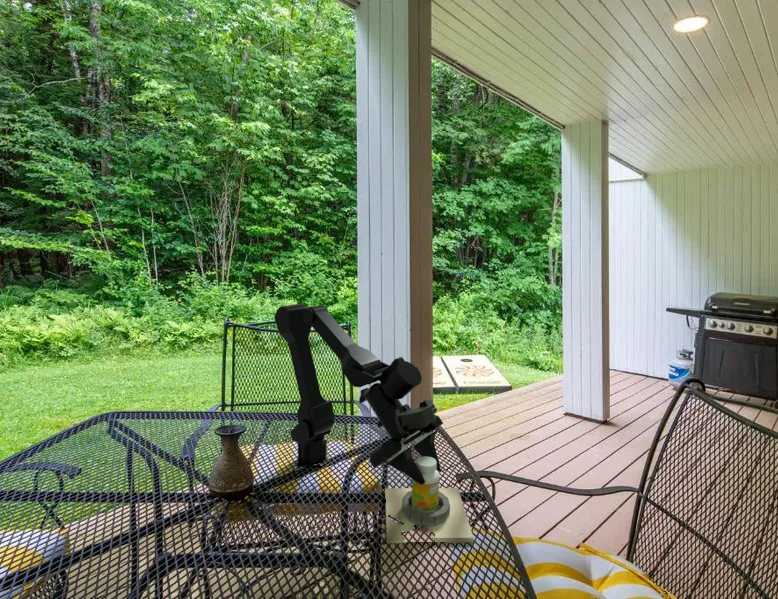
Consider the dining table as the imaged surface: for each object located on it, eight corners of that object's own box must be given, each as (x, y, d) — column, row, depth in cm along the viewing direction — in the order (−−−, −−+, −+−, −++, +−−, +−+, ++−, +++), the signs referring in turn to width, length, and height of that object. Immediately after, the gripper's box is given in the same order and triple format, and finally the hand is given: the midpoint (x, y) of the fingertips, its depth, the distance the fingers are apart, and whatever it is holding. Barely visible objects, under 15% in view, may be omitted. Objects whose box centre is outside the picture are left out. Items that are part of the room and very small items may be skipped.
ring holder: (386, 543, 83) (387, 528, 82) (385, 492, 98) (385, 480, 98) (473, 542, 83) (473, 527, 83) (457, 492, 99) (458, 479, 98)
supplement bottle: (405, 504, 91) (407, 460, 89) (424, 494, 94) (426, 451, 93) (424, 517, 87) (426, 471, 85) (443, 507, 90) (445, 462, 89)
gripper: (382, 404, 82) (431, 482, 77) (437, 378, 96) (481, 442, 91) (350, 431, 88) (393, 505, 83) (406, 403, 102) (446, 464, 98)
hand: (431, 477), depth 89 cm, fingers closed on supplement bottle, 5 cm apart
